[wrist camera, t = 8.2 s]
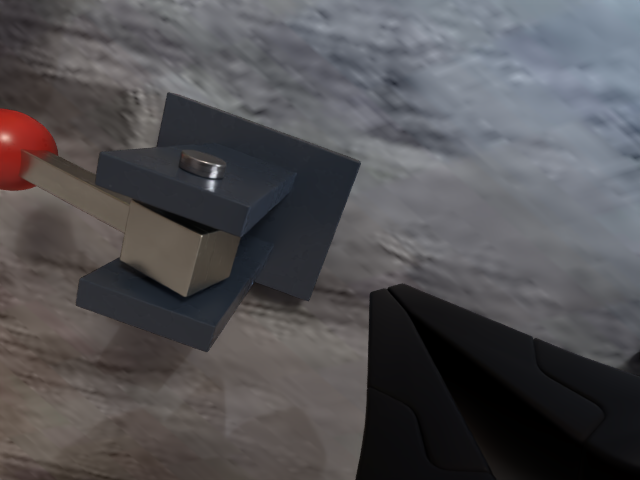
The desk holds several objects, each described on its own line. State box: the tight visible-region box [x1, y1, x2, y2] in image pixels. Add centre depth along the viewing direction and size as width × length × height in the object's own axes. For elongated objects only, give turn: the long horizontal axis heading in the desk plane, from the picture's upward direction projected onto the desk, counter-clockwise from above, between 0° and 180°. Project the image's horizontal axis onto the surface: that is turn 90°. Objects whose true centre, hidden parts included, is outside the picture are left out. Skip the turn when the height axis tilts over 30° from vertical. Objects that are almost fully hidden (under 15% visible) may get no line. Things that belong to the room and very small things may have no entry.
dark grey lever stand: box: [76, 93, 361, 352], centre depth 15 cm, size 10×8×10 cm
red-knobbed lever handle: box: [0, 109, 241, 297], centre depth 14 cm, size 12×3×3 cm, turn 71°
